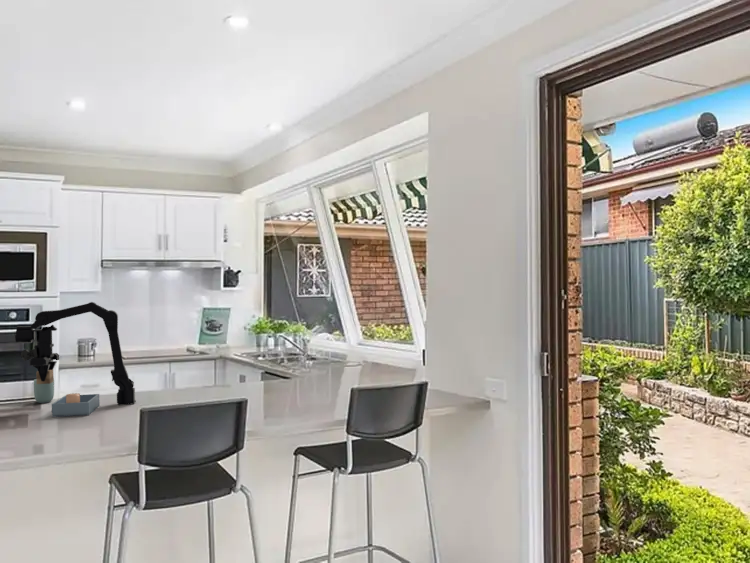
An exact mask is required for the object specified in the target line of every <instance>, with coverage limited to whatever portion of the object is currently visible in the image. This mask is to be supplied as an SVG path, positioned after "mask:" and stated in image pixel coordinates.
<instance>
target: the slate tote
mask: <svg viewBox="0 0 750 563" xmlns="http://www.w3.org/2000/svg"><path fill="white" fill-rule="evenodd" d="M66 395H67V394H65V395H64V396H62V397H60V398H58V399H57V400H56V401H55V402H52V403H51V418H57V417H58V418H61V417H79V416H80V417H81V416H82V417H83V416H90V415H92V413H94V412H95V411H96V410H97V409H98V408H99V407H100V404H101V402H100V393H93V394H91V393H90V394H89V393H88V394H80V403H66Z"/></svg>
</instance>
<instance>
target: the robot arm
mask: <svg viewBox="0 0 750 563" xmlns="http://www.w3.org/2000/svg"><path fill="white" fill-rule="evenodd" d="M86 313H92V314H94V315H96V316H97V317H99V318H101V319H102V321H103V324H104V326H105V329H106V330H107V334H108V338H109V343H110V349H111V355H112V361H113V369H111V370H110V374H111V377H112V379H111V381H112V382H113V383H114V385H116V386H117V387H118V390H117V393H116V403H117V405H118V406H120V405H121V406H122V405H134V404H135V403H136V401H137V400H136V388H135V387H134V386H135V384H134V383H135V382H134V381H133V380H132V379H131V378H129V373H128V370H127V368H126V365H125V364H124V362H123V361H124V359H123V355H122V348H121V344H120V339H119V332H118V331H119V330H118V328H119V326H118V325H119V314H118V313H117V312H116V311H115V310H112V309H109V310H108V309H106V308H104V307H103V306H101V305H99V304H97V303H96V302H93V301H90V302H88V303H84V304H81V305H80V304H79V305H75V306H72V307H68V308H63V309H55V310H43V311H40V312H38V313H37V314H36V315H35V317H34V319H35V320H34V322H33V323H31V325H30V326H29V325H28V326H21V325H17V326H16V330H15V334H14V340H15V343H16V344H31V343H33V341H35V340H36V344H35V345H34V346H33V349H30V350H29V349H24V350H21V353H20V358H21V359H22V360H23V361H24V362H25V361H28V360H29V362H28V363H29V364H28V365H29V366H32V367H33V368H36V369H37V371H38V372H39V375H40V378H41V381H45V379H46V376H47V373H48V370H53V371H54V369H55V366H56V364H57V362H58V361H59V360H60V354H59V353H58V352H53V347H55V344H54V343H53V332H55V331H57V330H58V328H57V327H56V326H55V325H54V324H52V323H55V322H58V321H59V320H62V319H66V318H70V317H74V316H78V315H82V314H83V315H84V314H86ZM50 324H51V325H50ZM47 325H50V326H47ZM41 326H42V327H41ZM40 327H41V329H38V328H40ZM54 360H55V361H54Z"/></svg>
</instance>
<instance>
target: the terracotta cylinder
mask: <svg viewBox="0 0 750 563" xmlns="http://www.w3.org/2000/svg"><path fill="white" fill-rule="evenodd" d="M65 395H66V403H80V395H81V393H77V392H76V393H74V392H72V393H67V394H65Z"/></svg>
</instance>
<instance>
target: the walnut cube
mask: <svg viewBox="0 0 750 563" xmlns="http://www.w3.org/2000/svg"><path fill="white" fill-rule="evenodd" d="M35 376H36V377H35V379H37V384H50V383H52V382H54V383H55V376H54V369H53V370H48V373H47V376H46V379H45V381H41V378H40V375H39V372H38V370H37V371H36V375H35Z"/></svg>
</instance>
